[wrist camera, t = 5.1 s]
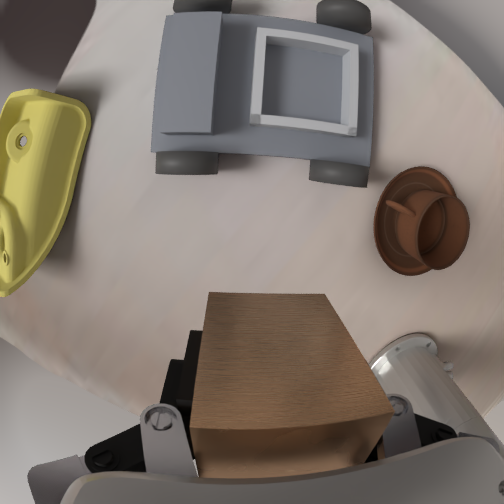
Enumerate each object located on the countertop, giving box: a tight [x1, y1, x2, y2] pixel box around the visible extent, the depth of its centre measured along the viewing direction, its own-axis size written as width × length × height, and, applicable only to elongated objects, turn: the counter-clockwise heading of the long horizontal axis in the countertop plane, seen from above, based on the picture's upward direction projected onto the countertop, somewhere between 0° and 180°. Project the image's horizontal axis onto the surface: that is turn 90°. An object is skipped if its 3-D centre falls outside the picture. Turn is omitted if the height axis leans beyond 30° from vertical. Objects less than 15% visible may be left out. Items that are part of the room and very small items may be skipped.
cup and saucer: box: [374, 167, 470, 276], centre depth 26 cm, size 12×12×6 cm
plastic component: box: [0, 89, 91, 297], centre depth 23 cm, size 20×8×10 cm
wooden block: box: [190, 292, 395, 478], centre depth 10 cm, size 5×5×7 cm
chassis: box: [151, 0, 374, 188], centre depth 21 cm, size 20×18×5 cm
